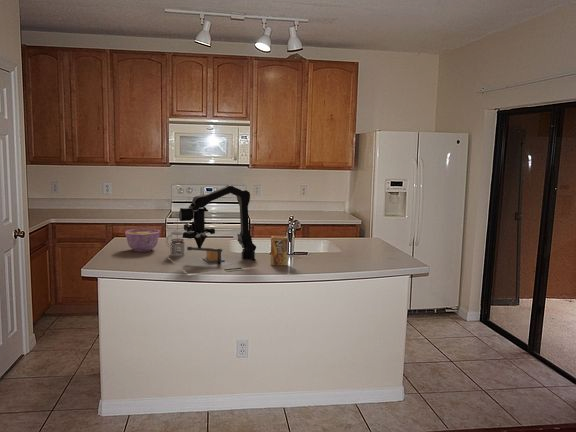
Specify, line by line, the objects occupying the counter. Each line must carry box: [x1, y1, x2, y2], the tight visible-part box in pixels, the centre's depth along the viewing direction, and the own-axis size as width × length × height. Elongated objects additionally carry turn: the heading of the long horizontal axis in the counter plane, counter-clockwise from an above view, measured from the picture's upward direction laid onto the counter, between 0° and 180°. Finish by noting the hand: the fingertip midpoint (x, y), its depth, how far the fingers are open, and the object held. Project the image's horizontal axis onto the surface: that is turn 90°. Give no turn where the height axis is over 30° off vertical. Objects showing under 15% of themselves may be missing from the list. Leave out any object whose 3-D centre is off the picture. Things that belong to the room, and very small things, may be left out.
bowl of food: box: [124, 228, 161, 253], centre depth 296 cm, size 20×20×12 cm
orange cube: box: [206, 247, 218, 261], centre depth 272 cm, size 6×6×6 cm
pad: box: [223, 267, 244, 273], centre depth 260 cm, size 9×9×1 cm
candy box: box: [270, 235, 288, 266], centre depth 270 cm, size 9×4×15 cm, turn 89°
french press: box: [165, 212, 185, 257], centre depth 282 cm, size 10×12×25 cm
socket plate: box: [198, 256, 232, 267], centre depth 271 cm, size 12×20×2 cm, turn 28°
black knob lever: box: [186, 246, 223, 264], centre depth 265 cm, size 19×2×8 cm, turn 82°
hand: (199, 248), depth 267 cm, fingers closed
